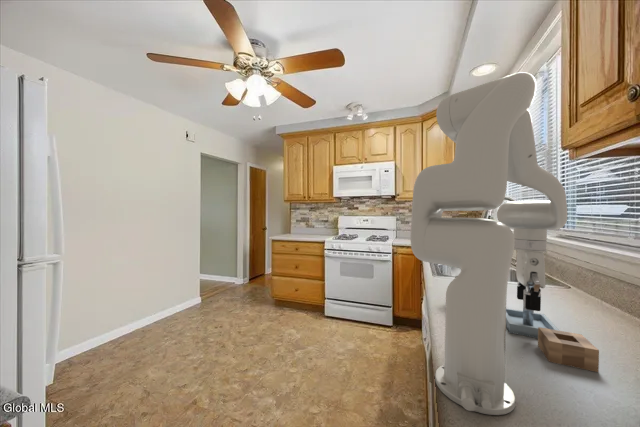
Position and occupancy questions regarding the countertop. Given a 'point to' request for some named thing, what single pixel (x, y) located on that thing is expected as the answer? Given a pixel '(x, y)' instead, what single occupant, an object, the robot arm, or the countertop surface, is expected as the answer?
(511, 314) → the tray
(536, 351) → the countertop surface
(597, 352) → the bore block
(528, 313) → the pin
